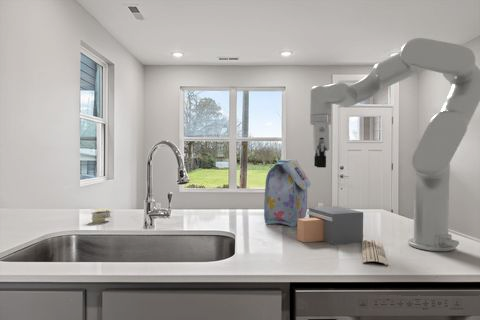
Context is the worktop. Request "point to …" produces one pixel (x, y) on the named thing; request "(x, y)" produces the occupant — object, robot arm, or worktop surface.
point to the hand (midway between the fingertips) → (319, 166)
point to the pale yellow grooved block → (100, 215)
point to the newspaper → (373, 252)
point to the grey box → (339, 224)
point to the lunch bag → (285, 193)
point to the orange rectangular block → (310, 229)
